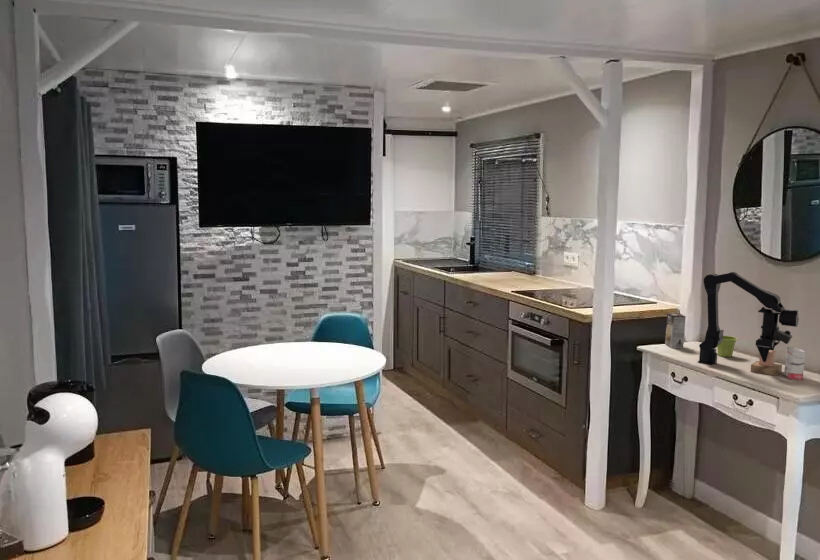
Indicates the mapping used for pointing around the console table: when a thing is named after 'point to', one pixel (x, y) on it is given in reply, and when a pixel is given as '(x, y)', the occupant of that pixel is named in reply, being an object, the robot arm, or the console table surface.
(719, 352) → the plant pot
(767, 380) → the console table surface
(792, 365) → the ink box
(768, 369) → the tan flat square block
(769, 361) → the peach block
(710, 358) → the robot arm
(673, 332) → the coffee box
